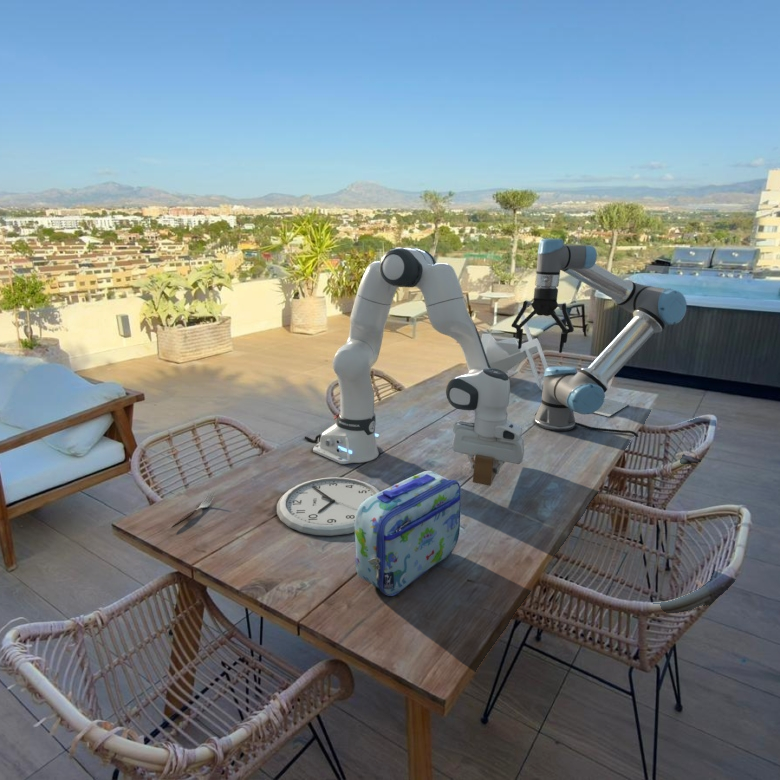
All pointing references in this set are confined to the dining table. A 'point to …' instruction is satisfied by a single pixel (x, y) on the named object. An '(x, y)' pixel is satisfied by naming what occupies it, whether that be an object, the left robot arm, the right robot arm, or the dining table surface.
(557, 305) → the right robot arm
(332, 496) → the wall clock
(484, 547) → the dining table surface
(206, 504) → the fork
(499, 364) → the white plastic object
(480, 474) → the bar
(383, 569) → the lunch box
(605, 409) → the invitation card
